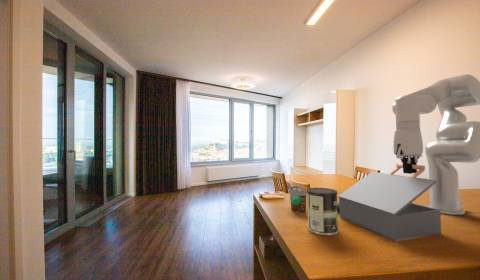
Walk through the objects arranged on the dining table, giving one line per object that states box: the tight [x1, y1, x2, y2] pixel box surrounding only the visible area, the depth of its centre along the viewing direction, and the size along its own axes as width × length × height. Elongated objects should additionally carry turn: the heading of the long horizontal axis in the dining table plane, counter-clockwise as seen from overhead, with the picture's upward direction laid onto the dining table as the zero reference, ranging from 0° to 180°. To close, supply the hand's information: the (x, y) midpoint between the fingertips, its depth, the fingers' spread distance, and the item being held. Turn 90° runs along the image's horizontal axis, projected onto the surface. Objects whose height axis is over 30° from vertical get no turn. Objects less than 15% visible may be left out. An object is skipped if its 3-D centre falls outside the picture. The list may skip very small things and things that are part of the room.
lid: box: [337, 163, 437, 216], centre depth 81 cm, size 28×25×2 cm
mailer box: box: [338, 197, 442, 243], centre depth 80 cm, size 20×24×8 cm
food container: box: [288, 185, 307, 213], centre depth 100 cm, size 12×6×10 cm, turn 5°
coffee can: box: [306, 187, 339, 236], centre depth 77 cm, size 10×10×14 cm
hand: (410, 172), depth 84 cm, fingers closed on lid
